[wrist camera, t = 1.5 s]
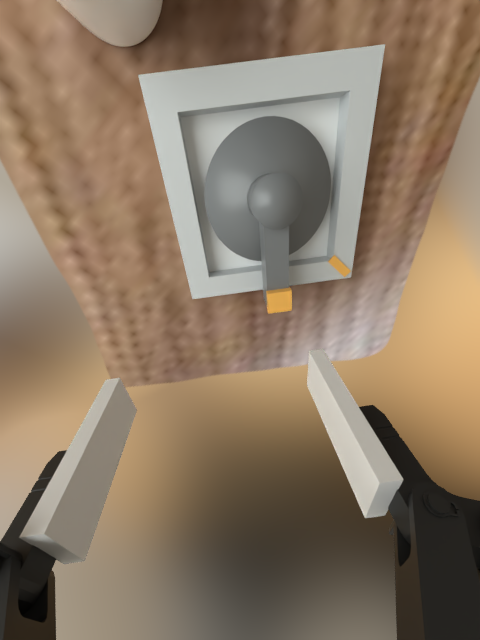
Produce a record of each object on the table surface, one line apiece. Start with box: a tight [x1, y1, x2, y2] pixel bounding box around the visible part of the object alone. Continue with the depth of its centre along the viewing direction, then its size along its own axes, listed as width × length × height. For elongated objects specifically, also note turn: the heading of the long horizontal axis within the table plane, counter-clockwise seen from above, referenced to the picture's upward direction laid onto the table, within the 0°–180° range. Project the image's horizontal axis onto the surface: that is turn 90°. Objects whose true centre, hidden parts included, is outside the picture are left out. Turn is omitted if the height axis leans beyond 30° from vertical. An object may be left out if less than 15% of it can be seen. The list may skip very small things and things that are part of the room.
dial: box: [204, 116, 331, 313], centre depth 24 cm, size 18×13×6 cm
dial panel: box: [138, 44, 385, 299], centre depth 26 cm, size 20×20×4 cm
